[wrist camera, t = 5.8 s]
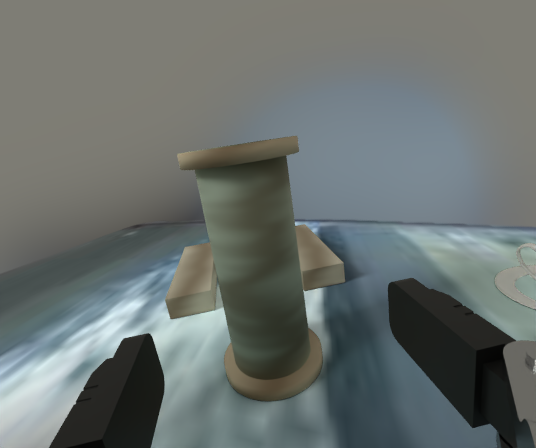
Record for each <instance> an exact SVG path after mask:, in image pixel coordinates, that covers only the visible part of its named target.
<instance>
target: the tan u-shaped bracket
mask: <svg viewBox="0 0 536 448" xmlns="http://www.w3.org/2000/svg"><path fill="white" fill-rule="evenodd" d="M295 229H296V237H297V245H298V253H299V261H300V269H301V276H302V284H303V289H304V291H306V290H311V289H315V288H320V287H325V286H329V285H334V284H339V283H344V282H345V274H344V263H343V262H342V261H341V260H340V259H339V258H338V257H337V256H336V255H335V254H334V253H333V252H332V251H331V250H330V249H329V248H328V247H327V246H326V245H325V244H324V243H323V242H322V241H321V240H320V239H319V238H318V237H317V236H316V235H315V234H314V233H313V232H312V231H311V230H310V229H309V228H308V227H307V226H306V225H305V224H304V225H299V226H295ZM216 285H217V273H216V268H215V264H214V259H213V254H212V249H211V245H210V243H205V244H200V245H194V246H189V247H185V249H184V252H183V254H182V257H181V260H180V262H179V265H178V267H177V270H176V273H175V275H174V278H173V280H172V283H171V286H170V288H169V291H168V293H167V296H166V299H165V301H166V305H167V308H168V312H169V315H170V319H174V318H179V317H184V316H189V315H193V314H198V313H203V312H207V311H212V310H215V302H216Z"/></svg>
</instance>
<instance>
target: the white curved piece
mask: <svg viewBox="0 0 536 448" xmlns="http://www.w3.org/2000/svg"><path fill="white" fill-rule="evenodd" d="M524 247H530V248H532V249H533V250H534V251H536V244H532V243H526V244H523V245H521V246H520V247H519V248H518V249H517V251H516V255H517V258H518V261H519V263H520V265H521V266H517V267H512V268H508V269H505V270H503V271H501V272H500V273H498V274H497V276H496V277H495V284H496V286H497V288H498V289H499V290H500V291H501V292H502V293H503V294H504V295H506V296H507V297H509V298H510V299H512V300H514V301H516V302H518V303H520V304H522V305H525V306H527V307H530V308H532V309H535V310H536V300H533V299H531V298H529V297H527V296H525V295H524V294H522V293H521V292H520V291H519V290H518V289H517V288H516V286H515V281H516V280H517V279H518V278H520V277H522V276H525V275H530V276H531V277H532V278H533V279H535V280H536V275H535V274H536V265H525V263H524V262H523V260H522V257H521V254H520V250H521V249H522V248H524Z"/></svg>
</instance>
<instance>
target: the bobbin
mask: <svg viewBox="0 0 536 448" xmlns="http://www.w3.org/2000/svg"><path fill="white" fill-rule="evenodd" d="M297 152H299V147H298V138H297V136H291V137H284V138H277V139H270V140H264V141H257V142H250V143H244V144H237V145H230V146H224V147H218V148H211V149H205V150H199V151H192V152H186V153H180V154H177V156H178V160H179V165H180V169H181V170H195V174H196V179H197V183H198V188H199V192H200V198H201V202H202V207H203V211H204V216H205V221H206V226H207V231H208V235H209V240H210V245H211V249H212V254H213V259H214V264H215V268H216V273H217V278H218V282H219V287H220V292H221V297H222V301H223V306H224V311H225V315H226V320H227V325H228V330H229V334H230V339H231V343H230V345H229V346H228V348H227V350H226V353H225V357H224V365H225V369H226V374H227V378H228V381H229V382H230V384H231V386H232V387H233V388H234V389H235V390H236V391H237V392H238V393H240V394H241V395H243V396H245V397H248V398H251V399H254V400H260V401H276V400H282V399H286V398H289V397H292V396H294V395H296V394H298V393H300V392H302V391H304V390H305V389H306V388H308V387H309V386H310V385H311V384H312V383H313V382H314V381H315V380H316V378H317V377H318V375H319V373H320V371H321V368H322V364H323V356H322V348H321V343H320V340H319V338H318V337H317V335H316V334H315V333H314V332H313V331H312V330H311V329H309V328H308V324H307V316H306V308H305V300H304V292H303V284H302V276H301V269H300V261H299V253H298V245H297V237H296V229H295V221H294V213H293V206H292V198H291V191H290V183H289V174H288V166H287V158H286V155H290V154H294V153H297Z"/></svg>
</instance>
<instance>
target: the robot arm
mask: <svg viewBox="0 0 536 448" xmlns="http://www.w3.org/2000/svg"><path fill="white" fill-rule="evenodd" d="M388 301H389V322H390V327H391V330H392V333H393V335H394V337H395V339H396V340H397V342H398V343H399V344H400V345H401V346H402V347H403V349H404V350H405V351H406V352H407V353H408V354H409V355H410V357H411V358H412V359H413V360H414V361H415V362H416V364H417V365H418V366H419V367H420V368H421V369H422V370H423V372H424V373H425V374H426V375H427V376H428V377H429V378H430V380H431V381H432V382H433V383H434V384H435V385H436V387H437V388H438V389H439V390H440V391H441V392H442V393H443V395H444V396H445V397H446V398H447V399H448V400H449V401H450V403H451V404H452V405H453V406H454V407H455V408H456V410H457V411H458V412H459V413H460V414H461V415H462V416H463V418H464V419H465V420H466V421H467V422H468V423H469V425H470V426H471V427H472V428H475V427H479V426H483V425H486V424H491V425H492V426H493V427H494V428H495V429H496V430H497V436H496V442H497V448H536V342H535V341H516V340H514V339H513V338H511V337H510V336H509V335H507V334H506V333H504V332H503V331H501V330H500V329H498V328H497V327H495V326H494V325H492V324H491V323H489V322H488V321H486V320H485V319H483V318H482V317H480V316H479V315H478V314H474V313H473V311H472V310H470V309H469V308H467V307H466V306H463V305H462V304H461V303H460V302H458V301H457V300H455V299H454V298H452V297H451V296H449V295H447V294H444V293H442V292H439V291H436V290H434V289H428V288H427V287H425V286H424V285H423V284H421V283H420V282H418V281H417V280H415V279H414V278H409V279H404V280H399V281H395V282H391V283H389V285H388ZM164 386H165V384H164V374H163V371H162V367H161V364H160V361H159V357H158V354H157V351H156V348H155V344H154V341H153V338H152V336H151V335H150V334H149V333H147V334H143V335H138V336H133V337H129V338H124V339H123V340H122V341H121V343H120V345H119V347H118V349H117V351H116V353H115V355H114V357H113V358H109V359H106V360H105V361H104V362H103V363H102V364H101V365H100V366H99V367H98V368H97V369H96V370H95V371H94V372H93V373H92V375H91V376H90V378H89V380H88V381H87V383H86V385H85V387H84V391H82V392H81V393H80V395H79V397H78V399H77V400H76V404H75V405H74V406H73V407H72V409H71V411H70V412H69V414H68V416H67V418H66V419H65V421H64V423H63V424H62V426H61V428H60V430H59V431H58V433H57V435H56V436H55V438H54V440H53V442H52V443H51V445H50V447H49V448H151V444H152V440H153V436H154V432H155V428H156V424H157V420H158V416H159V411H160V407H161V403H162V399H163V395H164Z"/></svg>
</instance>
